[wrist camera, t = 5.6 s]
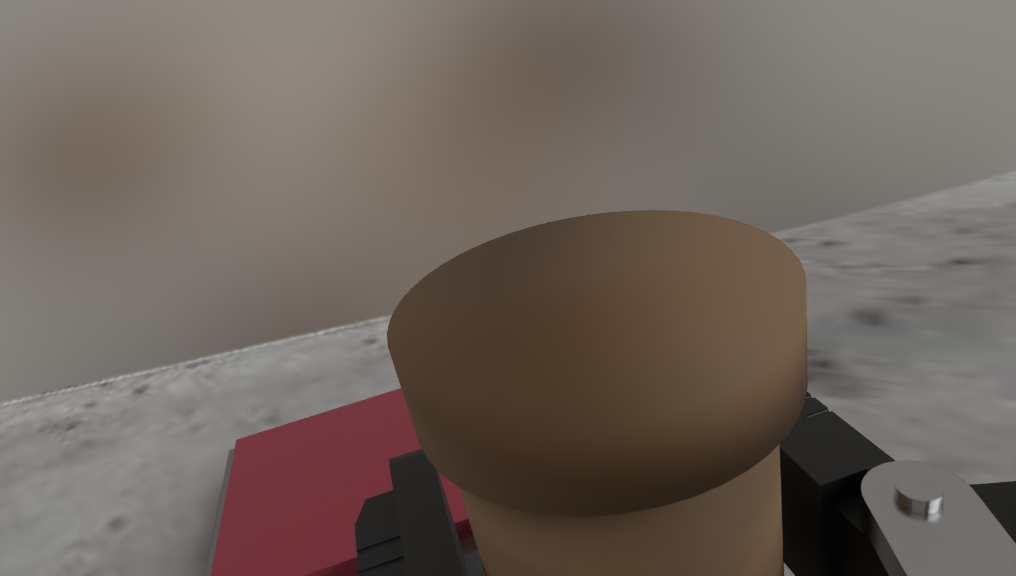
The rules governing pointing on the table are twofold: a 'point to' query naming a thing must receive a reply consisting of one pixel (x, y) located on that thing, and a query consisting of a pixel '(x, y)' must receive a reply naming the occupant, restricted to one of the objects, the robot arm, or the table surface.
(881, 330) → the table surface
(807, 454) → the robot arm
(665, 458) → the stamp
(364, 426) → the ink pad
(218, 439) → the table surface
